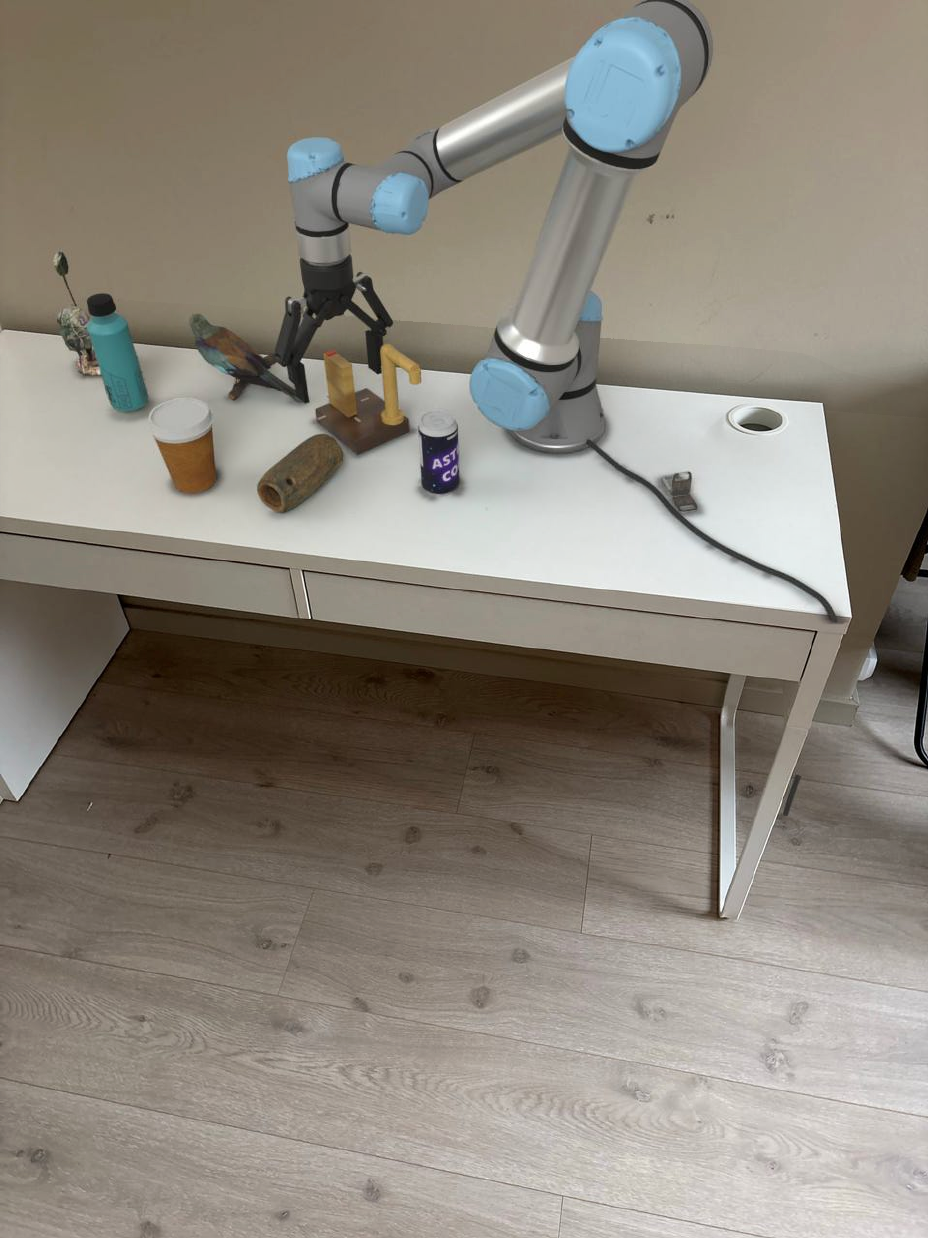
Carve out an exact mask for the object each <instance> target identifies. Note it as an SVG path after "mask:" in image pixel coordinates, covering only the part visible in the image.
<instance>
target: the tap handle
mask: <svg viewBox="0 0 928 1238" xmlns="http://www.w3.org/2000/svg"><path fill="white" fill-rule="evenodd" d="M322 356H323V363H324V368H325V377H326V384H327V385H326V386H327V393H328V396H329V398H328V402H329V403H330V404H331V405H332V406H334V407H335V408H336V409H338V410H339V411H340V412H341V413H343V414H344V415H345V416H347V417H348V418H349V417H351V416H353V415H356V414H357V407H356V398H355V392H356V389H355V380H354V372H353V364H352V363H351V362H349V360H348V359H346V358H344V357H343V356H341V355H340V354H339V353H337V351H336V350H334V349H330V350H328V351H325V352H324V353H323V355H322Z"/></svg>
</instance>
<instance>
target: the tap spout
mask: <svg viewBox="0 0 928 1238" xmlns="http://www.w3.org/2000/svg"><path fill="white" fill-rule="evenodd" d="M380 357H381V371H382V373H381V376H382V387H383V398H384V399H383V400H384V401H385V410H384V411H383V412H382V413H381V418H382V422H383V423H385V424H387V425H397V424H400V423H402V422H403V420H404V416H405V412H404V410H402V409H401V408H400V402H399V389H398V387H399V386H398V376H397V367H399V368H401V369H402V370H403V371H405V372H406V373H408V381H409V384H410V385H413V386H414V385H415V386H416V385H420V384H422V369H421V367H420V365H419V364H418V363H417V362H415V361H414V360H412V359H411V358H409V357H408V356H407V355H405V354H403V353H402V352H401V351H399V350H398V349H396V348H395V347H394V346H393V345H392V344H391V343H383V346H382V347H381V349H380Z"/></svg>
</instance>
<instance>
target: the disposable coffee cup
mask: <svg viewBox="0 0 928 1238" xmlns="http://www.w3.org/2000/svg"><path fill="white" fill-rule="evenodd" d="M214 421H215V415H214V413H213V411H212V410H211V409H210V407H209V406H208V405H207V404H206V403H205V402H204V401H203V400H201V399H199V398H194V397H178V398H172V399H169V400H165V401H163V402H160V403H159V404H157V405H156V406H155V407H154V408H152V409H151V411H150V412H149V414H148V421H147V424H146V426H147V427H146V428H147V430H148V433H149V434H150V435H151V436H152V437H153V439H154V441H155V443H156V446H157V447H158V450H159V452H160V455H161V458H162V460H163V462H164V464H165V466H166V468H167V470H168V473H169V476H170V477H171V480H172V482H173V485H174V487H175V489H177V490H178V491H179V492H181V493H185V494H197V493H201V492H204V491H207V490H209V489H210V488H212V487H213V486H214V485H215V483H216V481H217V472H216V471H217V470H216V458H215V445H214V435H213V424H214Z"/></svg>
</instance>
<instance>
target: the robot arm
mask: <svg viewBox="0 0 928 1238" xmlns="http://www.w3.org/2000/svg"><path fill="white" fill-rule="evenodd" d="M713 55H714V40H713V34H712V29H711V27H710V24H709V22H708V20H707V18H706V17H705V15H704V14H703V12H702V10H701V9H700V8H698V7H697V6H696V5H695V4H694V3H692V2H691V1H690V0H642V1H641V2H639V3H637V4H636V5H635V6H634V7H632V8H631V9H629V10H628V11H627V12H625V13H624V14H623V15H621V16H620V17H618V18H616V19H615V20H613V21H610V22H609V23H607V24H605V25H603V26H601V28H599V29H598V30H596V31H594V33H593V34H592V35H591V36H590V37H589V38H588V39H587V40H586V41H585V42H584V44H583V46H582V47H581V48H580V49H579V50H578V52H577V53H576V55H574V56H572V57H571V58H569V59H566V60H564V61H563V62H561V63H559V64H557V65H555V66H553V67H552V68H550V69H548V70H546V71H544V72H542V73H540V74H538V75H535V76H534V77H533V78H530V79H529V80H527V81H525V82H522V83H521V84H519V85H517V86H515V87H513V88H511V89H510V90H508V91H506V92H504V93H502V94H500V95H498V96H496V97H495V98H493V99H491V100H489V101H487V102H485V103H483V104H481V105H479V106H478V107H476V108H474V109H472V110H469V111H467V112H466V113H464V114H462V115H461V116H459V117H456V118H455V119H453V120H451V121H448V122H447V123H445V124H443V125H442V126H441V127H438V128H435V129H431V130H428V131H426V132H424V133H422V134H421V135H419V136H417V137H416V138H415V139H413V141H412V142H410V143H409V144H408V145H405V147H403V148H402V149H400V150H399V151H397V152H396V153H394V154H393V155H391V156H390V157H388V158H387V159H386V160H383V161H382V162H381V163H379V164H378V165H377V166H373V167H372V166H366V165H360V164H355V163H351V162H349V161H348V162H347V161H345V158H344V157H345V156H344V154H343V149H342V146H341V144H340V143H339V142H337V141H336V140H333V139H332V138H328V137H321V136H320V137H319V136H317V137H316V136H315V137H307V138H303V139H300V140H298V141H296V142H294V143H292V144H291V145H290V146H289V147H288V150H287V154H286V157H287V172H288V177H287V182H288V184H289V190H290V191H289V192H290V197H291V203H292V208H293V215H294V225H295V234H296V243H297V250H298V255H299V267H300V275H301V281H302V285H303V289H304V290H303V294H302V296H300V297H295V298H293V297H292V296H286V298H285V299H284V309H285V313H284V316H283V319H282V324H281V326H280V329H279V334H278V338H277V341H276V345H275V349H274V352H273V353H274V355H273V359H274V360H275V361H276V362H277V363H276V364H279V366H281V367H282V368H286V371H287V377H288V380H289V382H291V383H292V384H293V386H294V389H295V392H296V397H297V398H299V399H300V400H301V401H300V402H302V403H303V404H304V405H305V404H308V403H310V397H309V390H308V381H307V375H306V367H305V364H304V363H303V362H301V361H302V359H303V357H304V356H305V353H306V351H307V350H308V348H309V346H310V344H311V342H312V340H313V338H314V335H315V334H316V332H317V330H318V329H319V328H321V327H322V325H323V323H324V321H330V320H332V319H334V318H335V317H340V316H341V317H342V316H343V315H345V313H346V312H347V310H348V311H349V312H350V313H351V314H353V315H354V316H355V317H356V318H357V319H358V320H360V322H362V323H363V324H365V325H366V326H367V327H368V328H369V329H367V330H365V331H364V333H365V343H366V345H365V346H366V357H367V367H368V369H369V370H371V371H372V372H373V373H375V374H376V375H380V374H381V375H382V366H381V354H380V349H381V347H382V346H383V345H384V337H385V336H386V335H387V333H388V331H387V328H391V327H392V326H394V321H393V319H392V317H391V315H390V314H389V312H388V310H387V309H386V307H385V306H384V304H383V302H382V300H381V299H380V297H379V296H378V294H377V293H376V291H375V289H374V284H373V279H372V278H371V277H370V276H369V275H367V274H366V273H364V272H362V271H358V272H357V273H356V277H354V266H353V257H352V255H351V252H352V245H351V235H350V234H351V233H350V225H349V224H351V225H355V226H360V227H362V228H367V229H372V230H376V231H380V232H383V233H386V234H393V235H394V234H398V235H405V236H409V235H413V234H415V233H417V232H418V231H419V230H420V229H421V228H422V227H423V226H422V225H423V222H424V221H426V218H427V215H428V211H429V204H430V200H431V199H433V198H434V197H435V196H437V195H438V194H440V193H442V192H443V191H445V190H448V189H449V188H452V187H454V186H456V185H458V184H460V183H462V182H463V181H465V180H467V179H470V178H471V177H474V176H476V175H479V174H481V173H482V172H485V171H487V170H489V169H491V168H493V167H495V166H498V165H500V164H502V163H504V162H507V161H508V160H510V159H512V158H514V157H518V155H521V154H523V153H525V152H527V151H529V150H532V149H534V148H536V147H539V146H541V145H542V144H544V143H546V142H549V141H551V140H553V139H555V138H557V137H559V136H561V135H562V136H563V138H564V140H565V142H566V144H567V146H568V150H567V153H566V155H565V159H564V160H563V161H564V162H563V164H562V167H561V170H560V172H559V175H558V178H557V182H556V185H555V188H554V191H553V193H552V196H551V200H550V202H549V205H548V207H547V211H546V214H545V217H544V220H543V223H542V226H541V227H540V231H539V234H538V238H537V241H536V243H535V246H534V249H533V252H532V255H531V257H530V261H529V264H528V267H527V268H526V269H527V270H526V272H525V275H524V278H523V281H522V284H521V287H520V290H519V294H518V296H517V298H516V302H515V305H514V307H513V308H510V309H508V310H506V311H504V312H503V313H501V315H500V316H499V318H498V320H497V323H496V326H495V329H494V332H493V334H492V338H491V341H490V344H489V347H488V349H487V352H486V354H485V356H484V357H483V359H481V360H479V361H478V362H477V363H476V365H475V366H474V368H473V369H472V372H471V374H470V376H469V382H468V383H469V385H468V386H469V392H470V396H471V399H472V401H473V402H474V403H475V404H476V405H477V409H478V410H479V412H480V413H481V414H482V415H483V417H485V418H486V419H487V420H488V421H490V422H491V423H492V424H494V425H496V426H498V427H499V428H502V429H504V430H509V433H510V435H511V437H512V438H513V439H514V440H515V441H516V442H517V443H518V444H520V445H521V446H524V447H526V448H527V449H530V450H533V451H535V452H540V453H544V454H545V453H546V454H557V455H558V454H561V455H562V454H572V453H575V452H580V451H583V450H586V449H588V448H591V449H592V450H593V451H594V452H596V453H597V454H598V455H599V456H600V457H602V458H603V459H604V460H605V461H606V462H607V463H608V464H610V465H611V466H612V467H614V468H615V469H616V470H617V471H619V472H621V473H622V474H624V475H625V476H627V477H629V478H631V479H633V480H635V481H636V482H639V483H640V484H641V485H643V486H644V487H646V488H647V489H648V490H650V491H651V493H653V494H654V495H655V496H656V497H657V498H658V500H659V501H660V502H661V503H662V504H663V506H664V507H665V508H666V509H667V511H668V512H669V513H670V514H671V515H672V516H673V517H675V518H676V519H677V520H678V522H680V523H681V524H683V526H684V527H685V528H687V529H688V530H689V531H691V532H692V533H693V534H695V535H696V536H697V537H699V538H700V539H702V540H703V541H704V542H706V543H708V544H709V545H711V546H713V547H714V548H716V549H718V550H719V551H721V552H722V553H725V554H726V555H729V556H730V557H732V558H734V559H736V560H739V561H741V562H743V563H745V564H747V565H749V566H751V567H753V568H755V569H758V570H759V571H762V572H764V573H766V574H769V575H772V576H774V577H777V578H779V579H782V580H783V581H786V582H788V583H790V584H792V585H793V586H795V587H797V588H799V589H800V590H802V591H804V592H805V593H807V594H808V595H810V596H811V597H813V598H814V599H815V600H816V601H818V602H819V603H820V604H821V605H822V607H823V608H824V610H825V612H826V613H827V615H828V617H829V620H830V621H831V622H832V623H838V617H837V615H836V613H835V611H834V608H833V607H832V605H831V604H830V602H829V600H827V599H826V598H825V597H824V596H823V595H822V594H821V593H820V592H818V591H816V590H815V589H814V588H812V587H811V586H808V585H807V584H805V583H804V582H802V581H801V580H799V579H797V578H795V577H793V576H791V575H789V574H787V573H784V572H782V571H779V570H778V569H775V568H772V567H771V566H767V565H764V564H762V563H761V562H758V561H756V560H753V559H752V558H750V557H748V556H746V555H743V554H742V553H739V552H737V551H735V550H734V549H731V548H729V547H727V546H726V545H723V544H722V543H720V542H719V541H717V540H716V539H714V538H712V537H711V536H709V535H708V534H706V533H705V532H703V531H702V530H700V529H699V528H697V526H695V525H694V524H693V523H691V521H689V520H688V519H687V518H686V517H684V516H683V514H682V513H680V512H679V511H678V510H677V509H676V507H675V506H673V504H672V503H671V502H670V501H669V500H668V499H667V497H665V495H664V494H663V493H662V492H661V491H660V489H658V488H657V487H656V486H655V485H654V484H652V483H651V482H650V481H648V480H646V478H644V477H641V476H640V475H638V474H637V473H635V472H633V471H631V470H629V469H627V468H626V467H624V466H623V465H621V464H620V463H618V462H617V461H616V460H615V459H613V458H612V457H611V456H610V455H609V454H608V453H607V452H605V451H604V450H603V449H602V448H601V447H599V446H598V445H597V444H596V443H597V442H598V441H600V440H601V438H602V436H603V434H604V431H605V421H606V420H605V418H606V417H605V413H604V410H603V408H602V402H601V398H600V395H599V391H598V388H597V376H598V367H599V365H598V364H599V355H600V342H601V333H602V322H603V320H604V317H603V314H602V313H603V304H602V300H601V298H600V297H599V295H597V294H596V293H595V292H594V291H592V288H593V286H594V283H595V280H596V278H597V276H598V273H599V270H600V268H601V265H602V263H603V260H604V258H605V255H606V253H607V250H608V248H609V246H610V243H611V242H612V241H611V240H612V239H613V236H614V233H615V231H616V228H617V225H618V223H619V222H620V218H621V216H622V213H623V211H624V208H625V207H626V203H627V201H628V198H629V196H630V194H631V191H632V190H633V189H632V188H633V186H634V184H635V181H636V180H637V179H636V178H637V177H638V175H639V174H641V173H643V172H646V171H648V170H650V169H652V168H653V167H655V165H656V164H657V162H658V159H659V157H660V154H661V152H662V150H663V148H664V145H665V143H666V140H667V138H668V136H669V134H670V131H671V128H672V126H673V123H674V121H675V119H676V117H677V116H678V115H677V114H678V113H679V111H680V109H681V108H682V107H683V106H684V105H685V104H686V103H687V102H688V101H689V100H690V99H691V98H692V97H693V96H694V95H695V94H696V93H697V92H698V91H699V89H700V88H702V85H703V83H704V82H705V81H706V78H707V76H708V74H709V71H710V68H711V65H712V60H713ZM356 290H357V291H359V292H360V293H361V295H362V296H363V298H364V299H365V301H366V303H367V304H368V306H369V308H370V309H371V311H372V312H373V314H374V315H375V317H376V318H377V319H376V320H375V319H374V318H372V317H371V316H370V315H369V314H368V313H367V312H365V310H363V309H362V308H361V307H360V306H359V305H357V303H355V302H354V301H353V300H352V299H353V298H354V295H355V293H356ZM305 307H306V308H305ZM304 308H305V310H304ZM314 315H315V317H314ZM301 320H302V321H301ZM801 778H802V775H799V774H795V776H794V779H793V781H792V785H791V787H790V790H789V793H788V796H787V798H786V802H785V805H784V809H783V812H782V816H784V817H788V816H789V814H790V811H791V808H792V804H793V801H794V798H795V795H796V792H797V789H798V786H799V785H800V781H801Z"/></svg>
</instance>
